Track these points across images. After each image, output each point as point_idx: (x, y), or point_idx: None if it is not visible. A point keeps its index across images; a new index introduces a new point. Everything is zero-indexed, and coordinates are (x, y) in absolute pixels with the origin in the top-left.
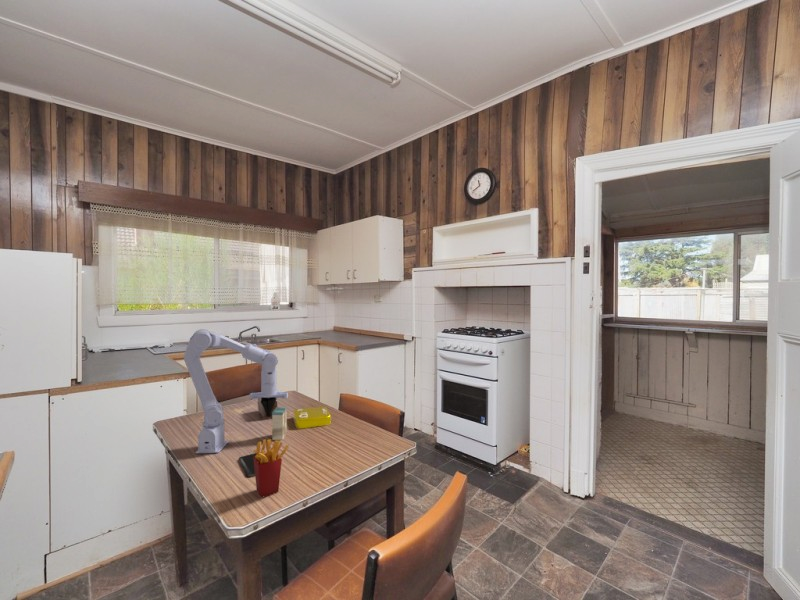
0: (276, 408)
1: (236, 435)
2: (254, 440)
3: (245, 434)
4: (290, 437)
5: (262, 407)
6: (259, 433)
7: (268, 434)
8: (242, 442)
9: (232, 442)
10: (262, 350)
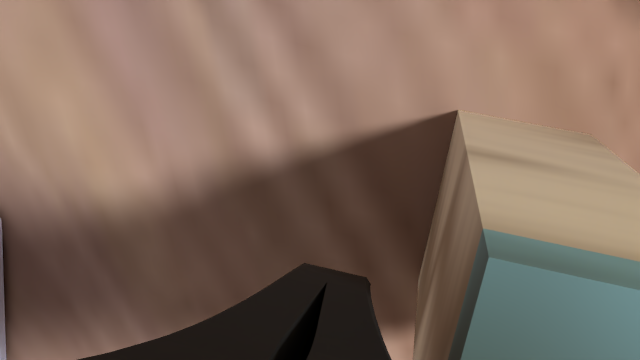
0: (493, 357)
1: (11, 41)
2: (232, 233)
3: (95, 33)
4: None
5: None
6: (247, 39)
7: (360, 99)
8: (128, 248)
9: (38, 221)
10: None
